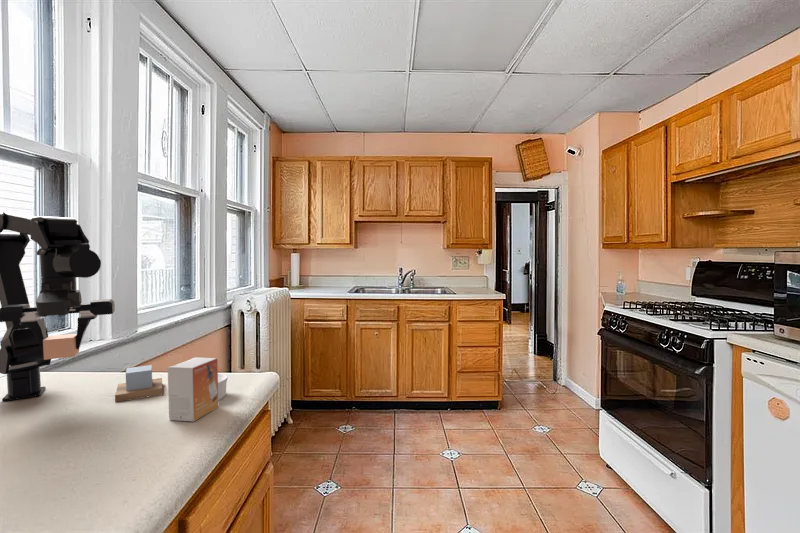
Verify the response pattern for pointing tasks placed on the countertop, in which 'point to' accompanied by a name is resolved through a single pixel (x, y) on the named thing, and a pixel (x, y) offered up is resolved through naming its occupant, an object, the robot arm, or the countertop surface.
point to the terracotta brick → (60, 346)
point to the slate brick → (139, 377)
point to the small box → (192, 389)
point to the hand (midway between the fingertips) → (62, 350)
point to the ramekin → (222, 385)
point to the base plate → (138, 391)
